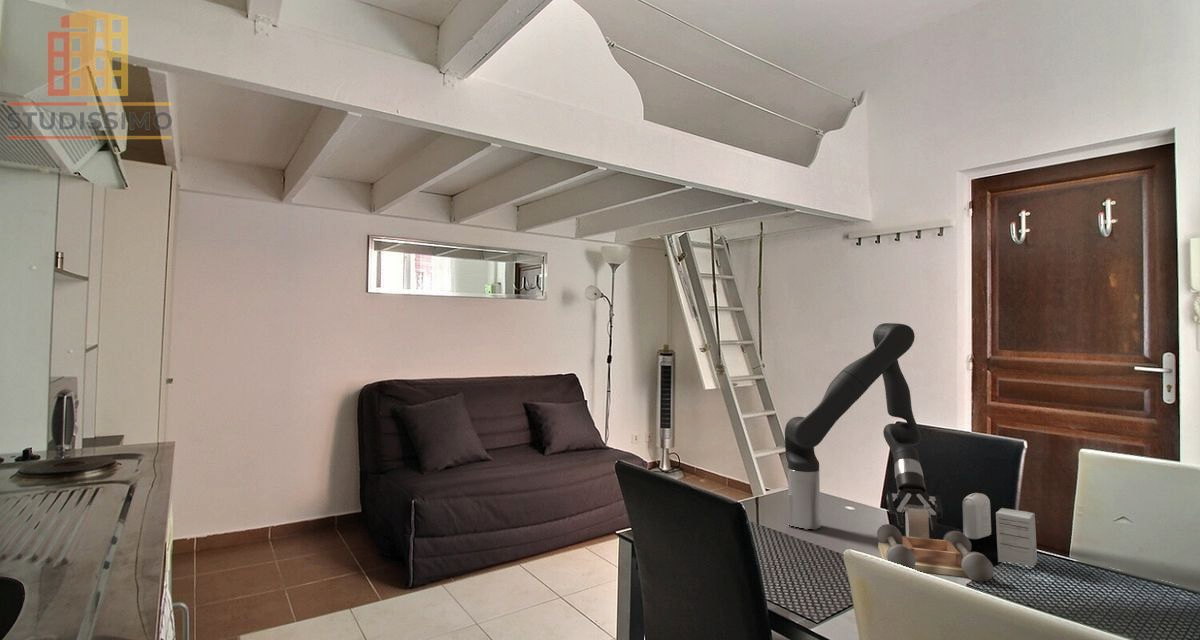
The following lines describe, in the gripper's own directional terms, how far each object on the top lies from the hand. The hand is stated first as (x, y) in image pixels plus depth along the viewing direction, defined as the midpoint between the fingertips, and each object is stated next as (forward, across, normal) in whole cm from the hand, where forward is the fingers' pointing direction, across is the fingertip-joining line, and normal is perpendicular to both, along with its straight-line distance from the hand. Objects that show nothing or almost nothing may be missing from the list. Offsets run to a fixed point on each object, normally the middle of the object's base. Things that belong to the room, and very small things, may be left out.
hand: (918, 527), depth 159 cm
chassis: (+14, 0, -8) cm, 16 cm away
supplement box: (+9, +21, -2) cm, 23 cm away
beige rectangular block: (+2, 0, +4) cm, 5 cm away
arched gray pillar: (-8, +18, +14) cm, 24 cm away
